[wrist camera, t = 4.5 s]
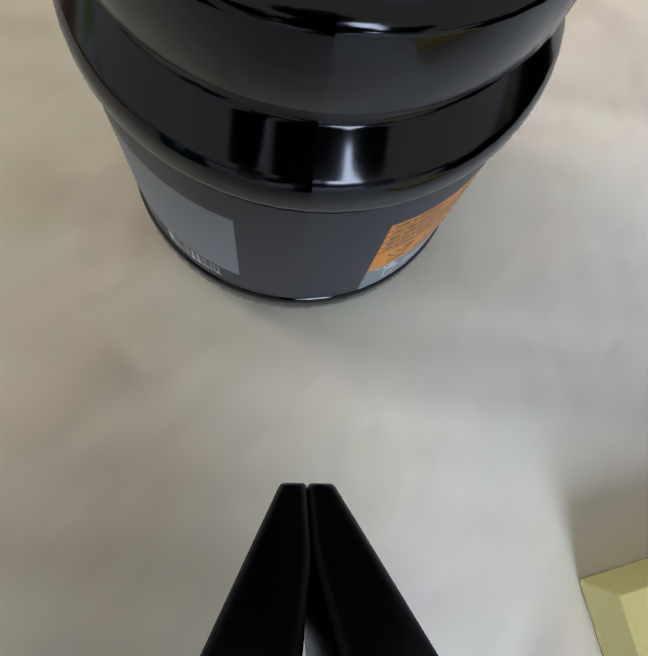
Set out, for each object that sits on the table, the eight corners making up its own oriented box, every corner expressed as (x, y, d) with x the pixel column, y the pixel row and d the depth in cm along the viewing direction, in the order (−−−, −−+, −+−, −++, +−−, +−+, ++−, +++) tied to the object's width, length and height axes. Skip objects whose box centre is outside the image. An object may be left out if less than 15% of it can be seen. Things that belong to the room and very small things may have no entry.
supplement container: (494, 177, 20) (814, -213, 8) (304, 383, 17) (388, 229, 6) (287, 2, 21) (318, -571, 9) (76, 173, 18) (-250, -328, 7)
